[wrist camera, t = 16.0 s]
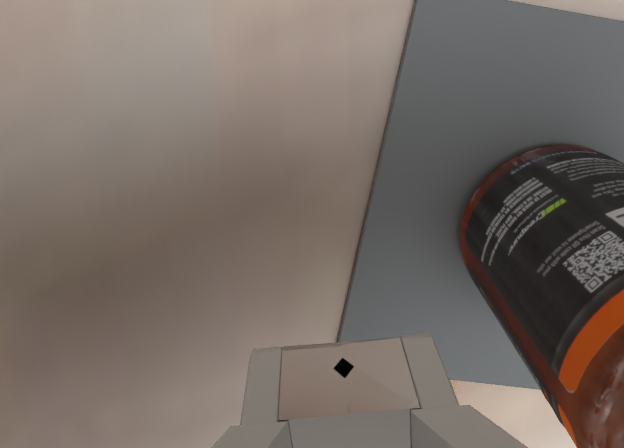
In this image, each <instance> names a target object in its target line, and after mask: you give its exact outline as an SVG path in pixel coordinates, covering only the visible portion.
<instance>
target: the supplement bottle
mask: <svg viewBox="0 0 624 448" xmlns="http://www.w3.org/2000/svg"><path fill="white" fill-rule="evenodd" d="M459 241H460V251H461V256H462V259H463V262H464V264H465V266H466V268H467V270H468V272H469V275H470V276H471V278H472V280H473V282H474V284H475V285H476V287H477V288H478V289H479V291H480V293H481V295H482V296H483V298H484V299H485V301H486V303H487V304H488V306H489V307H490V309H491V310H492V312H493V313H494V315H495V317H496V318H497V320H498V322H499V323H500V325H501V326H502V328H503V330H504V331H505V333H506V335H507V336H508V338H509V340H510V341H511V343H512V344H513V346H514V347H515V349H516V351H517V352H518V354H519V356H520V357H521V358H522V360H523V362H524V364H525V365H526V367H527V368H528V370H529V371H530V373H531V375H532V376H533V378H534V380H535V381H536V383H537V384H538V386H539V388H540V389H541V391H542V392H543V394H544V396H545V398H546V399H547V401H548V402H549V404H550V405H551V407H552V409H553V410H554V412H555V414H556V416H557V417H558V419H559V421H560V422H561V424H562V425H563V426H564V427H565V428H566V430H567V432H568V433H569V435H570V437H571V438H572V440H573V442H574V443H575V445H576V447H577V448H624V163H622V162H620V161H618V160H616V159H615V158H613V157H611V156H608V155H606V154H603V153H601V152H598V151H596V150H593V149H591V148H586V147H582V146H578V145H565V144H560V145H548V146H543V147H538V148H534V149H531V150H528V151H525V152H523V153H521V154H519V155H517V156H515V157H513V158H512V159H510V160H508V161H506V162H505V163H503V164H502V165H500V166H499V167H497V168H496V169H495V170H494V171H493V172H492V173H490V174H489V175H488V176H487V177H486V178H485V179H484V180H483V181H482V182H481V184H480V185H479V186H478V188H477V189H476V190H475V192H474V193H473V195H472V196H471V198H470V200H469V202H468V203H467V206H466V208H465V211H464V213H463V216H462V220H461V225H460V236H459Z"/></svg>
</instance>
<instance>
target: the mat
mask: <svg viewBox="0 0 624 448" xmlns="http://www.w3.org/2000/svg"><path fill="white" fill-rule="evenodd" d="M560 144H565V145H578V146H582V147H586V148H591V149H593V150H596V151H598V152H601V153H603V154H606V155H608V156H611V157H613V158H615V159H616V160H618V161H620V162H622V163H624V22H622V21H617V20H611V19H606V18H600V17H595V16H590V15H584V14H579V13H573V12H568V11H562V10H557V9H551V8H546V7H540V6H535V5H529V4H524V3H518V2H513V1H507V0H415V2H414V6H413V11H412V15H411V20H410V24H409V28H408V33H407V37H406V42H405V46H404V50H403V55H402V59H401V64H400V68H399V72H398V77H397V81H396V85H395V90H394V94H393V99H392V103H391V107H390V112H389V116H388V121H387V125H386V129H385V134H384V138H383V143H382V147H381V151H380V156H379V160H378V165H377V169H376V173H375V178H374V182H373V187H372V191H371V195H370V200H369V204H368V209H367V213H366V217H365V222H364V226H363V231H362V235H361V239H360V244H359V248H358V253H357V257H356V261H355V266H354V270H353V275H352V279H351V283H350V288H349V292H348V297H347V301H346V305H345V310H344V314H343V319H342V323H341V327H340V332H339V336H338V341H337V343H339V342H341V343H342V342H352V341H362V340H372V339H382V338H392V337H399V336H403V335H412V334H420V333H430V334H431V335H432V336H433V339H434V341H435V344H436V346H437V349H438V352H439V354H440V357H441V359H442V362H443V365H444V367H445V370H446V372H447V375H448V377H449V379H451V380H460V381H469V382H478V383H487V384H496V385H504V386H513V387H522V388H531V389H540V388H539V386H538V384H537V383H536V381H535V380H534V378H533V376H532V375H531V373H530V371H529V370H528V368H527V367H526V365H525V364H524V362H523V360H522V358H521V357H520V356H519V354H518V352H517V351H516V349H515V347H514V346H513V344H512V343H511V341H510V340H509V338H508V336H507V335H506V333H505V331H504V330H503V328H502V326H501V325H500V323H499V322H498V320H497V318H496V317H495V315H494V313H493V312H492V310H491V309H490V307H489V306H488V304H487V303H486V301H485V299H484V298H483V296H482V295H481V293H480V291H479V289H478V288H477V287H476V285H475V284H474V282H473V280H472V278H471V276H470V275H469V272H468V270H467V268H466V266H465V264H464V262H463V259H462V256H461V251H460V241H459V236H460V225H461V220H462V216H463V213H464V211H465V208H466V206H467V203H468V202H469V200H470V198H471V196H472V195H473V193H474V192H475V190H476V189H477V188H478V186H479V185H480V184H481V182H482V181H483V180H484V179H485V178H486V177H487V176H488V175H489V174H490V173H492V172H493V171H494V170H495V169H496V168H497V167H499V166H500V165H502V164H503V163H505V162H506V161H508V160H510V159H512V158H513V157H515V156H517V155H519V154H521V153H523V152H525V151H528V150H531V149H534V148H538V147H543V146H548V145H560ZM540 390H541V389H540Z"/></svg>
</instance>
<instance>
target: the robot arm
mask: <svg viewBox="0 0 624 448" xmlns="http://www.w3.org/2000/svg"><path fill="white" fill-rule="evenodd" d="M211 448H528V447H526V446H525V445H524V444H522V443H521V442H519V441H518V440H517V439H515V438H514V437H513V436H511V435H510V434H508V433H507V432H506V431H504V430H503V429H502V428H500V427H499V426H497V425H496V424H495V423H493V422H492V421H491V420H489V419H488V418H486V417H485V416H484V415H482V414H481V413H480V412H478V411H477V410H475V409H474V408H473V407H471V406H470V405H461V406H459V403H458V401H457V398H456V395H455V393H454V390H453V388H452V385H451V383H450V380H449V377H448V375H447V372H446V370H445V367H444V365H443V362H442V359H441V357H440V354H439V352H438V349H437V346H436V344H435V341H434V339H433V336H432V335H431V334H430V333H420V334H412V335H403V336H399V337H392V338H382V339H372V340H362V341H352V342H342V343H341V342H339V343H325V344H311V345H297V346H283V348H282V347H275V348H262V349H254V350H253V351H252V353H251V355H250V361H249V368H248V374H247V381H246V388H245V395H244V402H243V408H242V415H241V422H240V425H239V426H230V428H229V429H228V430H227V431H226V432H225V433H224V434H223V435H222V436H221V437H220V439H219V440H218V441H217V442H216V443H215V444H214V445H213V446H212V447H211Z"/></svg>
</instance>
